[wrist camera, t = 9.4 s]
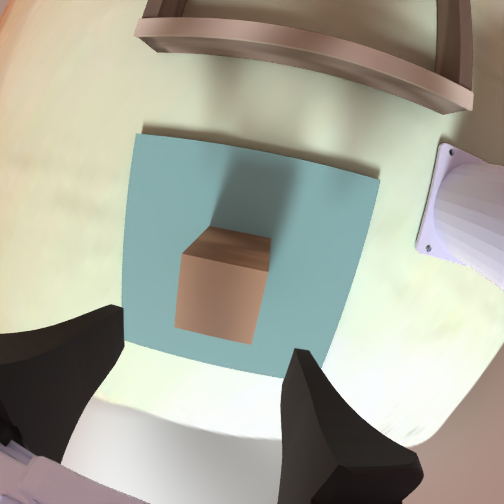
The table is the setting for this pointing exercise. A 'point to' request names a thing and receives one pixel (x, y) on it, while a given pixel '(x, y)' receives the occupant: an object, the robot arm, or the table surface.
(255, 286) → the walnut block
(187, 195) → the mat
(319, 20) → the table surface
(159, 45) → the frame
